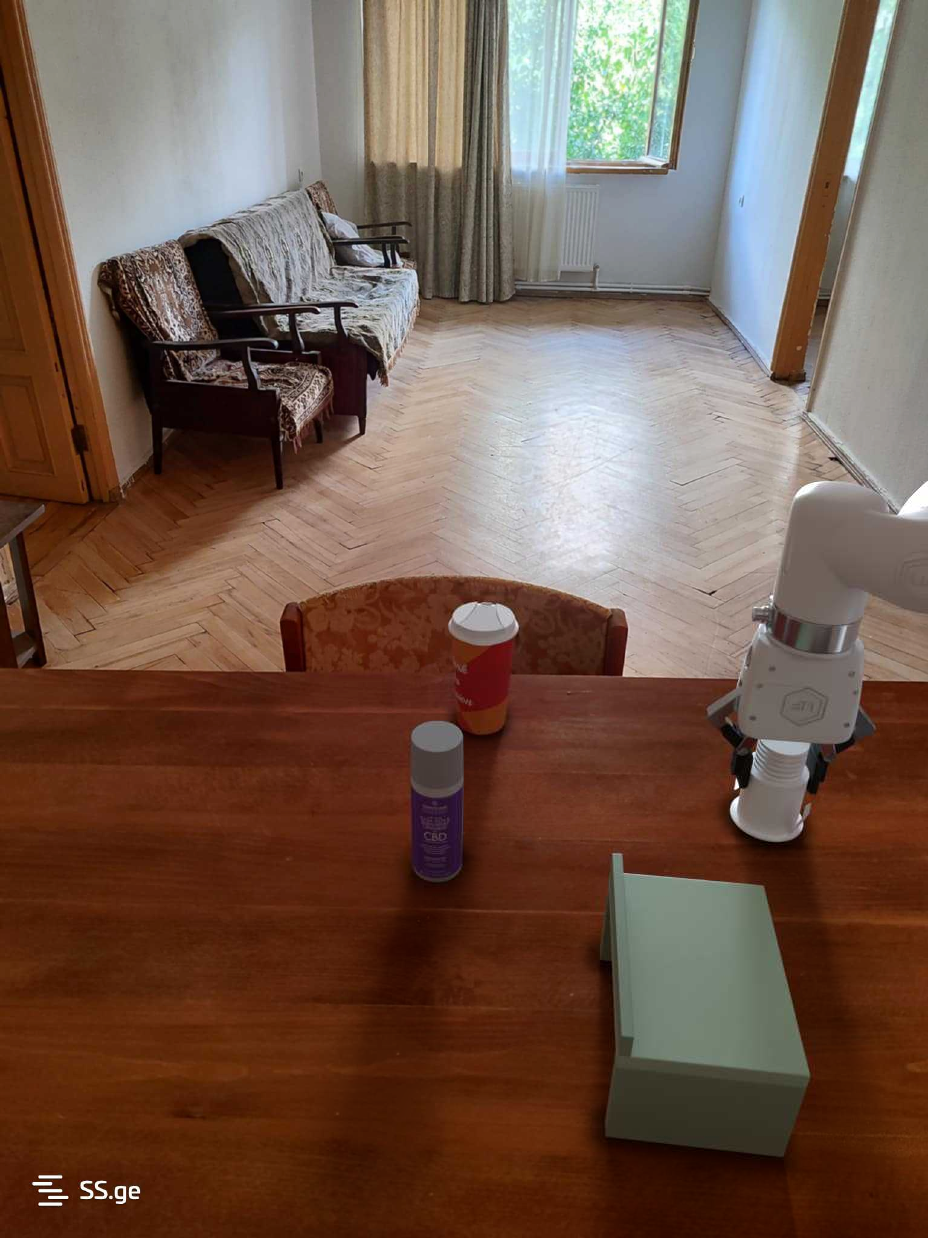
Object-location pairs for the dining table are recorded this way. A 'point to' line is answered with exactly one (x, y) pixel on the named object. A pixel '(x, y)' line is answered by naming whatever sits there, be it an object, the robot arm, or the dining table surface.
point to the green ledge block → (699, 1016)
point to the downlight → (774, 792)
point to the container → (437, 800)
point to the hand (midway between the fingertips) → (774, 781)
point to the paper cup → (482, 664)
